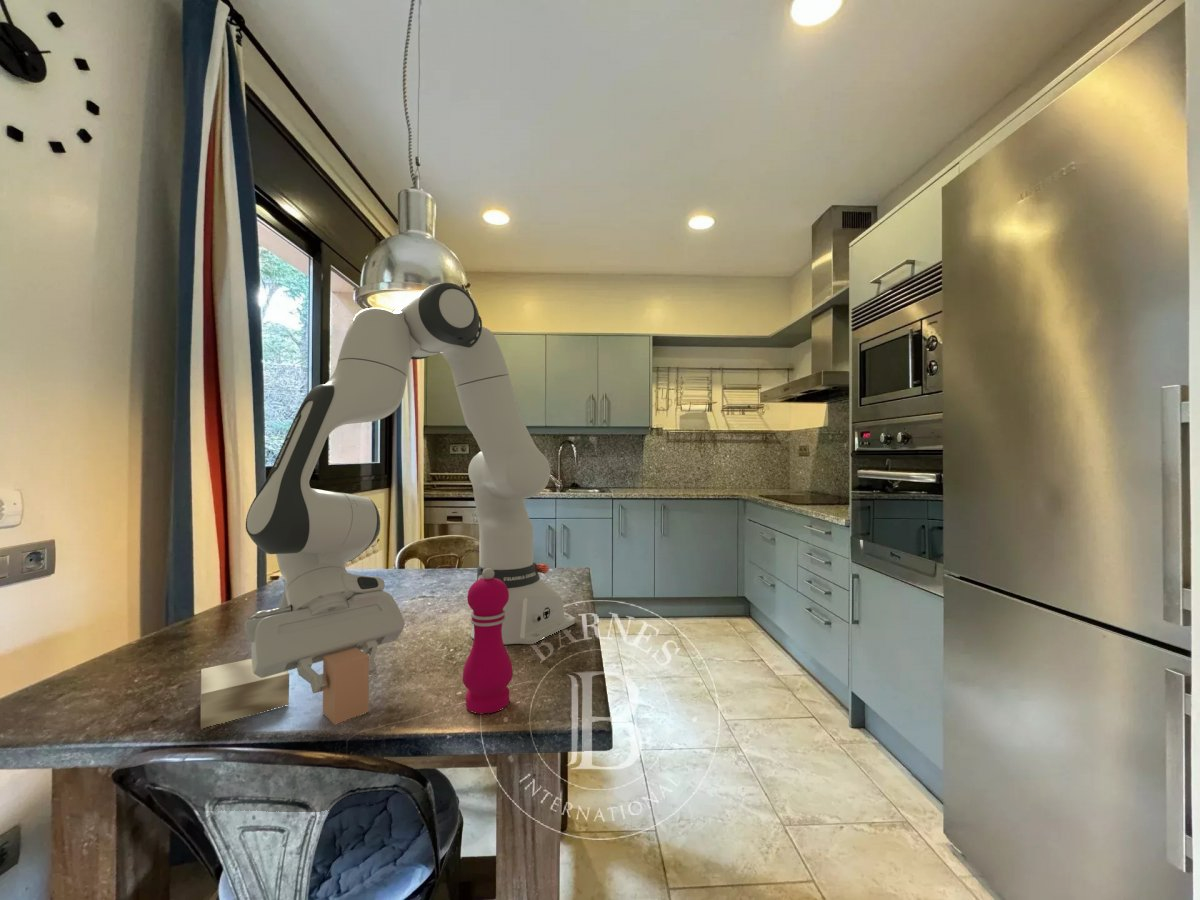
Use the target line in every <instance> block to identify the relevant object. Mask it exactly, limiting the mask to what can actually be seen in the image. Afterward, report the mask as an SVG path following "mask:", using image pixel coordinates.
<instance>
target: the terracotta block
mask: <svg viewBox="0 0 1200 900" xmlns="http://www.w3.org/2000/svg"><path fill="white" fill-rule="evenodd" d="M322 663H323V664H322V666H323V667H322V669H323V671H322V672H323V673H322V674H324V673H325V675H326V680H327V683H328V686H327V687H326V690H324V691H322V714H323V713H324V714H325V715H326V716H327V717H328V718H329V719H328V718H327V717H326V716H325V715H324V714H323V715H324V716H325V717H326V718H327V719H328V720H329V721H330V722H331V723H332V724H333V725H338V723H339V724H341V723H344V722H347V721H348V720H347V719H349V720H351V719H350V718H352V717H354V718H357V717H359V716H358V715H360V714H362V715H364V714H363V713H365V712H368V713H370V712H369V708H370V707H369V705H370V704H369V703H370V702H369V701H370V700H369V697H370V693H369V692H370V691H369V690H370V689H369V687H370V686H369V685H370V683H369V682H370V676H369V655H368V654H365V653H364V652H363V650H359V649H357V648H353V649H350V650H346V651H343V652H339V653H335V654H332V655H328V656H324V657H323V661H322ZM365 714H366V713H365ZM356 716H357V717H356ZM360 716H361V715H360ZM352 719H353V718H352ZM343 721H344V722H343ZM340 722H341V723H340Z"/></svg>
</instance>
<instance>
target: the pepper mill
mask: <svg viewBox="0 0 1200 900" xmlns="http://www.w3.org/2000/svg"><path fill="white" fill-rule="evenodd" d="M482 576H483V579H480V580H477V579H476V581H475V582H473V583H472V584H471V585H470V587H469V589H468V591H467V596H466V597H467V604H468V606H469V607H470V608H471V609H472V611H471V613H470V617H471V619H470V623H471V624H472V626H473V625H474V639H473V642H472V647H471V649H470V652H469V654H468V656H467V659H466V661H465V663H464V667H463V670H462V679H461V680H462V683H463V685H464V686H465V688H466V689H467V692H466V693H465V708H466V710H467V711H468V710H470V711H473V712H476V713H492V712H496V711H498V710H500V709H502V708H504V707H505V706H506V705H507V704H508V705H509V703H510V688H509V687H508V685H509V683H511V681H512V679H513V675H514V674H513V673H514V672H513V664H512V660H511V658H510V655H509V653H508V651H507V649H506V646H505V644H503V640H502V623H503V622H504V621H505V610H503V608H504V606H505V605H506V604H507V602H508V600H509V592H508V588H507V586H506V584H505V583H504V582H503V581H501V580H500V579H497V578H493V577H494V570H493V569H492V568H486V569H484V570H483V572H482ZM508 705H507V706H508ZM505 708H506V707H505ZM505 708H504V709H505ZM470 711H469V712H470ZM496 713H497V712H496ZM492 714H493V713H492Z"/></svg>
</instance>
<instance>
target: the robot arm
mask: <svg viewBox="0 0 1200 900" xmlns="http://www.w3.org/2000/svg"><path fill="white" fill-rule="evenodd" d="M438 354H440V355H441V356H442V357H443V358H444V359H445V360H446V362H447V364H448V365H449V368H450V369H451V370H450V371H451V374H452V379H453V382H454V386H455V390H456V394H457V397H458V401H459V405H460V408H461V412H462V417H463V420H464V423H465V425H466V427H467V429H468V430H469V431H470V432H471V433H472V436H473V437H474V439H475V441H476V443H477V446H478V448H479V450H480V451H479V452H478V453H476V454H475V455H474V456H473V457H472V459H471V460H470V462H469V464H468V468H467V469H468V478H469V481H470V483H471V486H472V491H473V497H474V504H475V508H476V509H475V510H476V515H477V521H478V534H479V535H478V536H479V539H478V541H479V542H478V543H479V544H478V545H479V546H478V547H479V548H478V549H479V551H478V553H479V555H478V556H479V557H478V559H479V560H478V561H479V564H478V565H477V566H476V567H477V568H476V581H477V580H480V579H483V576H482V572H483V570H484V569H486V568H492V569H493V570H494V577H493V578H497V579H500V580H501V581H503V582H504V583H505V584H506V586H507V588H508V592H509V600H508V602H507V604H506V605H505V606H504V608H503V610H505V621H504V622H503V623H502V640H503V644H504V645H514V644H516V645H517V644H520V645H521V644H522V645H535V644H537V643H536V642H538V641H539V640H540V639H542V638H543V637H546V636H549V635H551V636H553V635H555V634H557V633H559V632H561V631H563V630H565V629H567V628H568V627H570V626H572V625H575V623H576V622H575V621H576V620H575V617H574V616H572V615H571V614H569V613H568V612H565V607H564V601H563V597H562V595H561V594H560V593H559V592H557V590H555V589H553V588H552V587H550V585H548V584H547V583H545V582H544V581H543V580H542V579H541V578H540V577H541V576H540V573H542V574H545V575H546V574H548V572H549V569H550V567H549V565H548V564H546V563H541V562H539V563H538V564H537V563H536V562H534V527H533V523H532V520H531V519H530V517H529V515H528V511H527V508H526V503H525V499H530V498H532V497H534V496H537V495H539V494H540V493H542V492H543V491H544V490H545V488H546V487H547V486H548V484H549V481H550V478H551V467H550V463H549V460H548V458H547V457H546V455H544V453H542V451H540V450H539V448H538V447H537V445H536V444H535V442H534V440H533V437H532V436H531V434H530V432H529V430H528V428H527V425H526V424H525V422H524V420H523V418H522V415H521V411H520V410H519V407H518V403H517V401H516V396H515V392H514V388H513V385H512V384H513V383H512V381H511V378H510V373H509V371H508V366H507V363H506V360H505V357H504V354H503V352H502V349H501V347H500V345H499V343H498V340H497V338H496V336H495V335H494V333H493V332H492V331H491V330H490V329H489V328H487V327H484V326H483V321H482V318H481V316H480V313H479V311H478V308H477V305H476V303H475V302H474V300H473V298H472V297H471V295H470V294H469V293H468V291H466V289H464V288H463V287H462V286H460V285H458V284H456V283H452V282H440V283H435V284H432V285H430V286H428V287H426V288H425V289H424V290H421V291H419V292H416V293H415V294H413V295H412V296H410V297H409V298H407V299H406V300H405V302H403V303H402V304H401V305H400V306H399V307H397V308H395V309H393V310H392V311H391V310H388V309H386V308H381V307H369V308H364V309H361V310H360V311H358V312H357V313H356V314H355V315H354V317H353V318H352V321H351V322H350V325H349V327H348V329H347V331H346V334H345V337H344V339H343V342H342V345H341V348H340V351H339V354H338V357H337V363H336V367H335V370H334V372H333V374H331V376H330V378H329V379H328V380H327V382H325V384H324V383H323V384H319V385H318V384H317V385H316V386H314V387H313V388H312V389H311V390H310V391H308V393H307V394H306V396H305V397H304V399H303V400H302V403H301V405H300V406H299V408H298V410H297V412H296V414H295V416H294V418H293V420H292V423H291V425H290V427H289V430H288V431H287V433H286V436H285V438H284V441H283V443H282V444H281V448H280V450H279V452H278V454H277V456H276V458H275V460H274V462H273V465H272V467H271V469H270V471H269V474H268V476H267V478H266V479H265V481H264V483H263V485H262V486H261V487H260V489H259V491H258V492H257V494H256V496H255V497H254V499H253V501H252V502H251V505H250V507H249V509H248V512H247V515H246V519H245V531H246V533H247V535H248V536H249V538H250V539H251V541H252V542H253V543H254V544H255V545H256V546H257V547H258V548H259V549H260V550H261V551H262V552H264V553H265V554H268V555H276V556H275V557H276V560H277V565H278V570H279V572H280V574H281V576H282V577H283V579H285V581H286V586H285V585H284V589H285V594H286V597H287V602H288V605H289V606H285V607H280V608H278V607H277V608H273V609H267V610H261V611H256V612H255V613H254V614H253V615H252V616H250V617H248V619H246V620H245V622H244V625H243V629H244V630H243V631H244V635H245V638H246V639H247V640H248V641H249V642H250V643H251V653H250V654H251V659H252V669H253V673H254V674H255V675H257V676H259V677H261V678H264V677H267V676H271V675H275V674H278V673H282V672H285V671H288V672H289V671H291V670H295V669H296V671H297V674H298V676H299V677H300V678H302V679H303V680H304V681H306V682H307V683H309V684H310V687H311V690H312V693H313V694H316V693H317V694H318V693H319V692H323V691H324V690H326V687H327V686H328V683H327V680H326V675H325V673H324V674H323V673H321V674H319V673H317V672H316V671H315V670H314V669H313V668H312V666H313V664H317V663H321V662H323V657H324V656H328V655H332V654H335V653H339V652H343V651H346V650H350V649H353V648H357V649H359V650H361V651H362V652H364V653H365V654H367V655H369V677H370V676H372V675H375V674H376V672H377V671H378V670H377V663H376V662H375V657H376V655H377V650H378V647H379V646H380V645H385V644H388V643H391V642H395V641H397V640H398V639H399V637H400V636H401V634H402V632H403V631H404V628H405V619H404V617H403V615H402V611H401V610H400V608H399V606H398V604H397V601H396V600H395V599H394V597H393V596H392V594H390V593H389V592H387V591H384V589H385V586H386V583H385V580H384V579H383V578H382V577H379V576H372V575H371V576H370V575H369V576H368V575H360V574H353V573H348V571H347V569H346V565H347V563H348V562H352V561H354V560H355V559H356V558H358V557H359V556H361V554H363V553H364V552H365V551H366V550H368V549H369V548H370V547H371V546H372V545H373V544H374V543H375V541H376V539H377V538H378V536H379V535H380V531H381V517H380V512H379V509H378V507H377V505H376V504H375V502H374V500H372V499H371V498H369V497H366V496H362V495H356V494H351V493H347V492H346V493H345V492H337V491H329V490H323V489H317V488H312V487H311V486H310V480H311V477H312V475H313V472H314V469H315V468H316V465H317V463H318V461H319V458H320V456H321V454H322V452H323V451H322V450H323V448H324V446H325V443H326V440H327V439H328V437H329V435H330V434H331V433H332V432H333V431H334V430H336V429H337V428H339V427H341V426H344V425H350V424H362V423H363V424H364V423H370V422H371V423H372V422H376V421H379V420H383V419H385V418H387V417H389V416H391V415H392V414H393V413H395V411H396V410H398V408H400V405H401V403H402V401H403V398H404V396H405V390H406V386H407V380H408V374H409V369H410V363H411V360H423V359H427V358H429V357H431V356H435V355H438ZM560 630H561V631H560ZM558 631H559V632H558ZM556 632H557V633H556ZM554 633H555V634H554ZM552 634H553V635H552ZM470 636H471V639H473V640H474V625H473V624H472V628H471V632H470ZM549 637H550V636H549ZM534 643H535V644H534ZM538 643H539V642H538Z"/></svg>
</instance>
